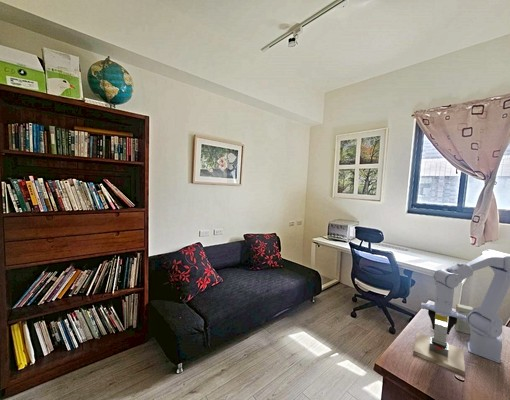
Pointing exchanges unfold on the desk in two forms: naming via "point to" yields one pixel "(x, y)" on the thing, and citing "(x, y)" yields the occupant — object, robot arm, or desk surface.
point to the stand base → (451, 362)
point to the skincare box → (460, 324)
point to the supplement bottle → (441, 317)
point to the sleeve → (438, 348)
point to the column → (440, 332)
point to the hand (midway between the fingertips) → (440, 330)
